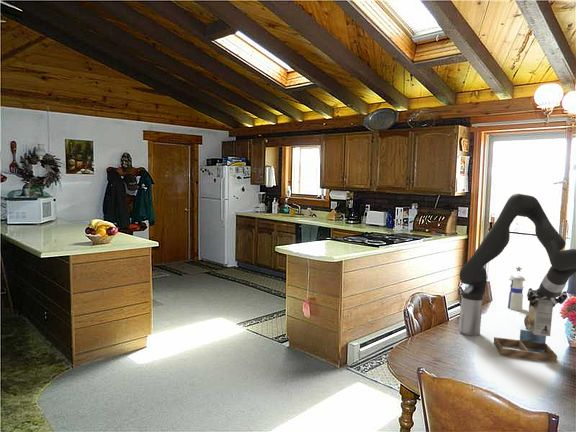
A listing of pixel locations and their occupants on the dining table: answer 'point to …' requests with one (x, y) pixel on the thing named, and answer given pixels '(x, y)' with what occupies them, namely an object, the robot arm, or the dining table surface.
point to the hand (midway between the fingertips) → (541, 305)
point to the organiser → (526, 347)
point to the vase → (526, 321)
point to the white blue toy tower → (516, 292)
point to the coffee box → (540, 317)
